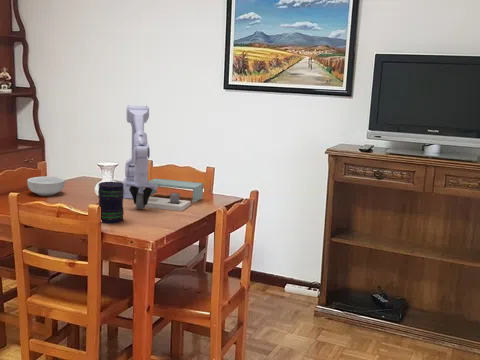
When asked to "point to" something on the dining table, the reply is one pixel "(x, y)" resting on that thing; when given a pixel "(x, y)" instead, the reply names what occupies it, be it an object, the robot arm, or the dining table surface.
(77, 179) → the dining table surface
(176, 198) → the block
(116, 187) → the storage jar
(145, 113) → the robot arm
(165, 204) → the grey base plate
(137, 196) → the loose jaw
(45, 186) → the cereal bowl
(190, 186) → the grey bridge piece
